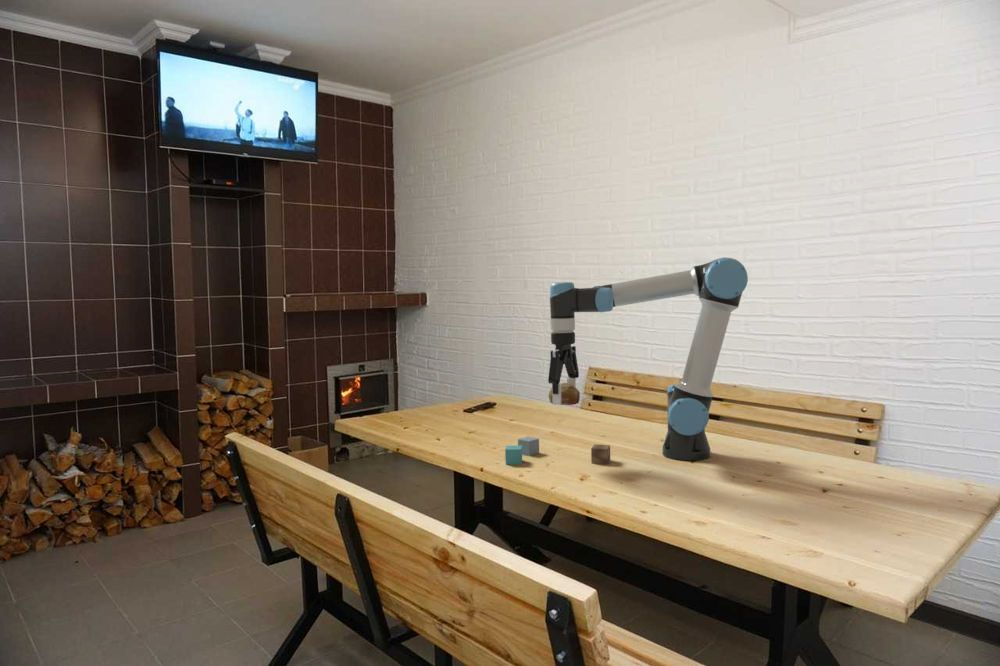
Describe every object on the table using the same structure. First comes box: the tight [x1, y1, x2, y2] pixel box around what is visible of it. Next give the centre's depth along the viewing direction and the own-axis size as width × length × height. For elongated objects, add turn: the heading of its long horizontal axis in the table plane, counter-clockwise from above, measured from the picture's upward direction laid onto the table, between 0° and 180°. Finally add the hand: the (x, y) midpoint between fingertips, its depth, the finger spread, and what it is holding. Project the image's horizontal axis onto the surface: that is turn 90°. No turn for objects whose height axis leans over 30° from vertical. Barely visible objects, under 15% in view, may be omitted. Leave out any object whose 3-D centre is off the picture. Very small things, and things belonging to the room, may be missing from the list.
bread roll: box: [548, 382, 581, 406], centre depth 223 cm, size 10×10×8 cm
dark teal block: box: [504, 444, 523, 466], centre depth 226 cm, size 5×5×5 cm
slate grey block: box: [517, 435, 540, 457], centre depth 237 cm, size 5×5×5 cm
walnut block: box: [590, 443, 611, 465], centre depth 224 cm, size 5×5×5 cm
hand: (564, 401), depth 223 cm, fingers closed on bread roll, 10 cm apart
